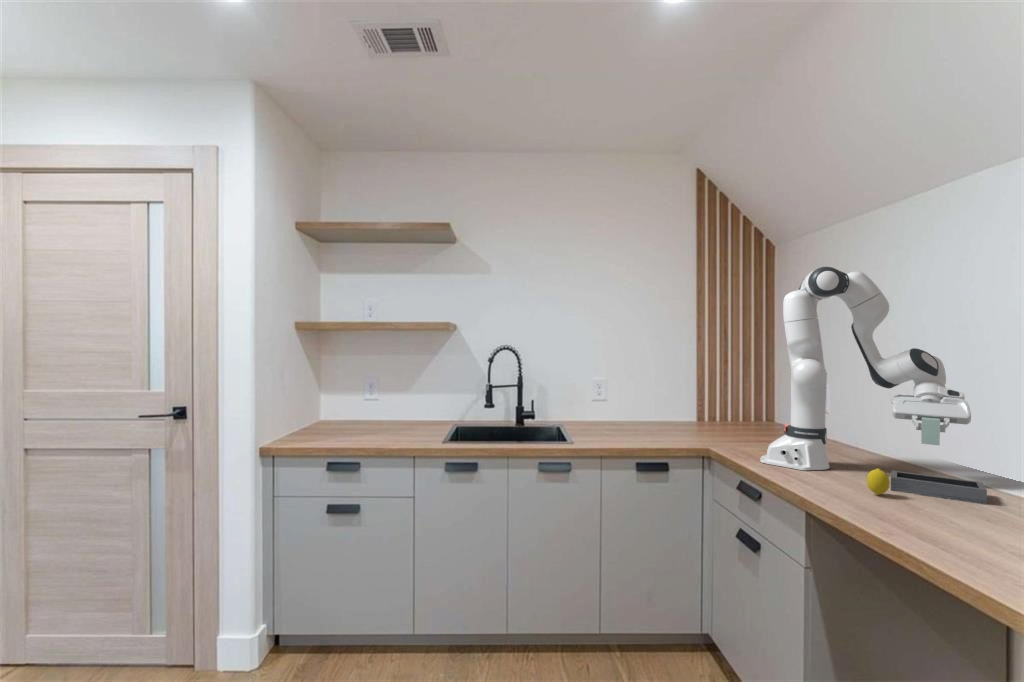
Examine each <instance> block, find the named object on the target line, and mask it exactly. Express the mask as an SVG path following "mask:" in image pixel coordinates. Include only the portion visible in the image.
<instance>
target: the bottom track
mask: <svg viewBox="0 0 1024 682" xmlns="http://www.w3.org/2000/svg"><path fill="white" fill-rule="evenodd" d="M890 471H891V472H890V491H893V492H898V493H899V492H901V493H907V494H913V495H920V496H927V497H934V498H941V499H945V500H947V499H948V500H954V501H961V502H966V503H976V504H979V505H980V504H981V505H988V501H987V500H988V490H987V488H986V486H985V484H984V483H983V481H975V480H969V479H968V480H967V479H960V478H953V477H945V476H938V475H937V476H936V475H932V474H931V475H930V474H929V475H928V474H922V473H915V472H914V473H913V472H908V471H899V470H890Z"/></svg>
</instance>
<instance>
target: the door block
mask: <svg viewBox="0 0 1024 682" xmlns="http://www.w3.org/2000/svg"><path fill="white" fill-rule="evenodd" d="M921 423H922V430H920V431H921V433H920V437H921V438H920V439H921V440H920V441H921V442H920V443H921V445H922V444H924V445H932V446H940V442H941V441H940V439H941V437H940V435H941V432H940V425H941V422H940V419H938V418H926V417H922V421H921Z"/></svg>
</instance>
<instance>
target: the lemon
mask: <svg viewBox="0 0 1024 682" xmlns="http://www.w3.org/2000/svg"><path fill="white" fill-rule="evenodd" d="M889 478H890V477H889V475H888V474H887V473H886V472H885V471H883V470H882V469H880V468H878V467H877V468H876V469H872V470H870V471H869V472H868V474H867V477H866V485H867V488H868V489H869V490H870V491H871V492H872V493H874V494H875V495H876V496H880V495H882V494H885V493H886V492H888V490H889V488H890V479H889Z"/></svg>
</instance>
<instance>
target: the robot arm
mask: <svg viewBox="0 0 1024 682" xmlns="http://www.w3.org/2000/svg"><path fill="white" fill-rule="evenodd" d="M834 296H835V297H838V298H839V299H841V300H842V302H844V304H845V305H846V306H847V308H848V309H849V311H850V312H851V316H852V321H853V322H852V324H851V331H852V335H853V337H854V339H855V342H856V343H857V346H858V348H859V350H860V352H861V355H862V357H863V359H864V361H865V363H866V366H867V369H868V372H869V374H870V375H869V376H870V378H871V380H872V381H873V382H874V383H875V385H877V386H879V387H882V388H884V389H892V388H895V387H898V386H900V385H901V384H903V383H904V384H905V383H907V382H910V381H913V383H914V386H913V395H909V394H906V395H904V394H897V395H894V396H892V397H891V404H892V414H891V415H892V417H893V418H895V419H897V420H898V419H899V420H908V421H909V420H910V421H911V422H912V424H913V425H914V426H915V430H916V431H921V430H922V417H926V418H938V419H940V423H943V424H940V433H946V429H947V428H948V427H949V426H950V424H956V425H969V424H970V423H971V421H972V414H971V413H972V412H971V409H970V408H971V407H970V405H969V403H968V402H967V400H965V393H964V392H962V391H958V390H955V389H950V388H948V387H946V384H947V375H946V374H947V373H946V369H945V365H944V364H943V361H942V360H941V359H940V358H939V357H937V356H935V355H932V354H931V353H929V352H928V351H925V350H922V349H920V348H910V349H907V350H904V351H902V352H899V353H898V354H895V355H892V356H890V357H887V358H883V357H882V356H881V353H880V351H879V349H878V346H877V345H876V343H875V341H874V338H873V335H874V332H875V330H876V329H877V327H878V326H880V324H881V323H883V321H884V320H885V319H886V318H887V316H888V315H889V312H890V303H889V301H888V299H887V298H886V296H885V295H884V293H883V292H882V290H881V289H880V288H879V286H878V285H877V284H876V283H875V282H874V281H873V280H872V279H871V278H870V277H869V276H868V275H867V274H865V273H864V272H862V271H859V270H856V271H851V272H848V273H846V272H843V271H841V270H838V269H837V268H835V267H832V266H820V267H818V268H815V269H813V270H811V271H810V272H808V274H806V275H805V277H803V279H802V281H801V284H800V285H799V288H798V289H797V290H793V291H790V292H789V293H787V294H786V295H785V296H784V298H783V301H782V302H783V303H782V317H783V326H784V332H785V340H786V347H787V352H788V359H789V365H790V371H791V372H790V424H788V423H787V424H785V425H784V429H783V432H784V433H783V434H784V435H781V436H780V437H778V438H777V439H775V440H774V441H772V442H771V443H770V444H769V445H768V447H767V450H766V454H764V455H762V456H760V458H759V461H760V462H761V463H762V464H767V465H771V466H772V465H773V466H778V467H784V468H788V469H794V470H799V471H817V470H818V471H821V470H822V471H824V470H828V469H830V468H831V466H830V463H829V458H828V455H827V454H828V453H827V447H826V445H827V442H828V441H827V440H828V431H827V430H828V429H827V427H826V408H827V407H826V404H827V383H828V381H827V377H828V376H827V375H828V373H827V369H826V367H825V361H824V352H823V345H822V344H823V343H822V337H821V330H820V322H819V317H818V316H819V315H818V311H817V308H818V303H819V302H820V301H822V300H826V299H829V298H830V297H834ZM918 421H921V422H918Z"/></svg>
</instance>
